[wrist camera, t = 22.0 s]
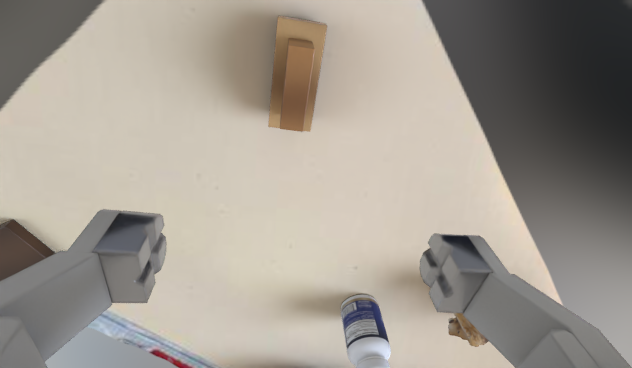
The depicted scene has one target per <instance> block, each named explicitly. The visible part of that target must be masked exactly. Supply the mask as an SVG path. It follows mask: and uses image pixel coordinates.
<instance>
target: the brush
mask: <svg viewBox="0 0 632 368" xmlns="http://www.w3.org/2000/svg"><path fill="white" fill-rule="evenodd" d="M326 30H327V25H326V24H325V23H320V22H314V21H308V20H302V19H296V18H290V17H284V16H278V20H277V31H276V43H275V55H274V67H273V78H272V90H271V102H270V113H269V125H268V126H269V127H276V128H280V129H286V130H294V131H309V132H310V130H311V124H312V117H313V111H314V105H315V99H316V92H317V86H318V80H319V74H320V68H321V61H322V55H323V49H324V43H325V36H326Z"/></svg>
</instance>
